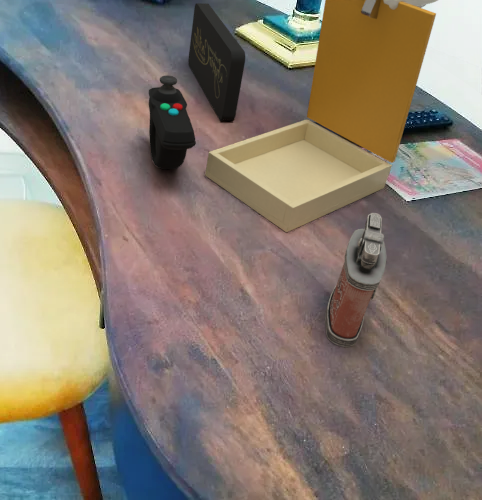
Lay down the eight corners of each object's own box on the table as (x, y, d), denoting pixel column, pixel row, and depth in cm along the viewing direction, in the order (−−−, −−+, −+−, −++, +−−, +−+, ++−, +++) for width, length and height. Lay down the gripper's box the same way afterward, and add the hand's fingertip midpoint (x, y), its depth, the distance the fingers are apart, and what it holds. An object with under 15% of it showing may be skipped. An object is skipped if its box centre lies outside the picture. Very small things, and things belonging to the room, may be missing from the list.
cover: (433, 14, 65) (436, 13, 65) (328, -23, 73) (332, -24, 73) (391, 163, 77) (395, 161, 77) (306, 117, 85) (309, 115, 86)
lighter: (359, 351, 57) (394, 264, 51) (320, 340, 58) (351, 253, 52) (364, 294, 63) (396, 211, 57) (329, 285, 64) (358, 202, 58)
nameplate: (234, 123, 90) (246, 53, 84) (221, 123, 90) (232, 53, 84) (198, 63, 106) (207, 1, 100) (187, 63, 106) (195, 1, 100)
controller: (173, 142, 85) (182, 69, 79) (192, 194, 75) (203, 116, 69) (141, 142, 84) (147, 68, 78) (156, 194, 75) (163, 116, 68)
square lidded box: (286, 232, 71) (293, 207, 69) (204, 175, 79) (208, 151, 77) (384, 188, 80) (392, 164, 78) (301, 140, 88) (307, 118, 86)
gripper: (421, -104, 59) (363, 86, 70) (506, -110, 66) (441, 62, 78) (356, -119, 63) (312, 61, 75) (442, -123, 71) (390, 41, 82)
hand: (378, 61), depth 76 cm, fingers closed
